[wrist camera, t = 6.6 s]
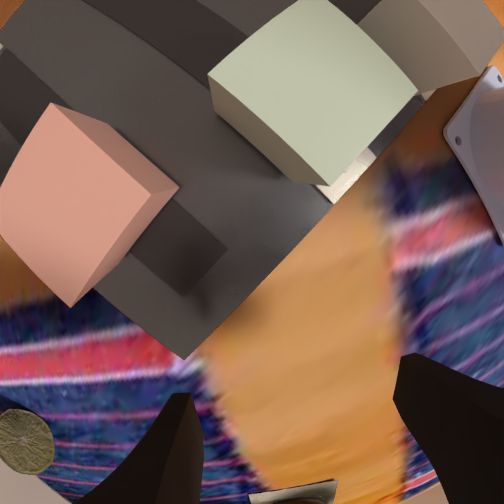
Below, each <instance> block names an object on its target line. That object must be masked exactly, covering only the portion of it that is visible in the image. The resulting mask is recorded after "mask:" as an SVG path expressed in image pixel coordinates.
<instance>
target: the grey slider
mask: <svg viewBox="0 0 504 504" xmlns="http://www.w3.org/2000/svg"><path fill="white" fill-rule="evenodd" d="M357 26H358V27H359V28H361V29H362V30H363V31H364V32H365V33H366V34H367V35H368V36H369V37H370V38H371V39H372V40H373V41H374V42H375V43H376V44H377V45H378V46H379V47H380V48H381V49H382V50H383V51H384V52H385V53H386V54H387V55H388V56H389V57H390V58H391V59H392V60H393V62H394V63H395V64H396V65H397V66H398V67H399V68H400V69H401V70H402V72H403V73H404V74H405V75H406V76H407V77H408V78H409V80H410V81H411V82H412V83H413V84H414V86H415V87H416V88H417V89H418V91H417V92H416V93H415V95H414V96H416V95H419V94H422V93H425V92H428V91H431V90H434V89H437V88H441V87H444V86H447V85H450V84H453V83H457V82H460V81H463V80H467V79H470V78H474V77H478V76H480V75H481V74H482V72H483V71H484V70H485V68H486V67H487V65H488V64H489V62H490V61H491V59H492V58H493V56H494V55H495V53H496V52H497V50H498V49H499V47H500V46H501V44H502V43H503V41H504V28H503V27H502V25H501V24H500V22H499V21H498V20H497V18H496V17H495V16H494V14H493V13H492V12H491V11H490V9H489V8H488V7H487V5H486V4H485V3H484V2H483V1H482V0H381V1H380V2H379V3H378V4H377V5H376V6H375V7H374V8H373V9H372V10H371V11H370V12H369V13H368V14H367V15H366V16H365V17H364V18H363V19H362V20H361V21H360V22H359V23H358V24H357Z"/></svg>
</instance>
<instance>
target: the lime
mask: <svg viewBox="0 0 504 504" xmlns="http://www.w3.org/2000/svg"><path fill="white" fill-rule="evenodd" d="M54 453H55V444H54V439H53V436H52V433H51V431H50V428H49V427H48V425H47V424H46V423H45V421H44V420H43V419H41V418H40V417H38V416H37V415H35V414H34V413H32V412H30V411H26V410H21V409H12V408H11V409H7V410H6V411H4V412H2V413H1V414H0V458H1V459H2V460H3V461H4V462H5V463H6V464H7V465H8V466H9V467H10V468H12V469H13V470H14V471H16V472H19V473H22V474H28V475H36V474H39V473H41V472H43V471H44V470H45V469H47V468H48V467H49V466H50V465H51V464H52V461H53V459H54Z"/></svg>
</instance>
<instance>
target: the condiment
mask: <svg viewBox="0 0 504 504" xmlns="http://www.w3.org/2000/svg"><path fill="white" fill-rule="evenodd" d="M337 483H338V480H335V481H331V482H323V483H318V484H313V485H306V486H301V487H296V488H290V489H288V488H285V489H283V490H279V491H273V492H263V493H258V494H249V498H250V501H251V504H333V501H334V498H335V493H336V488H337ZM320 496H321V497H320ZM276 499H278V500H276ZM273 501H276V502H273Z"/></svg>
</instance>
